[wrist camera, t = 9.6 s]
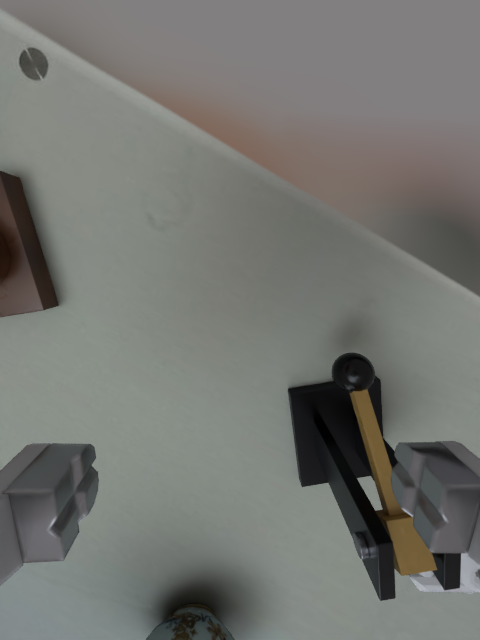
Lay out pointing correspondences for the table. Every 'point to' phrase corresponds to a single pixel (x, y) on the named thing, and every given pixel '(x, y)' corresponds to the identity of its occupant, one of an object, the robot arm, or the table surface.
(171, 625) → the bowl
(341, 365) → the lever
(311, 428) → the bracket
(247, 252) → the table surface
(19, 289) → the button block
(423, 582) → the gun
